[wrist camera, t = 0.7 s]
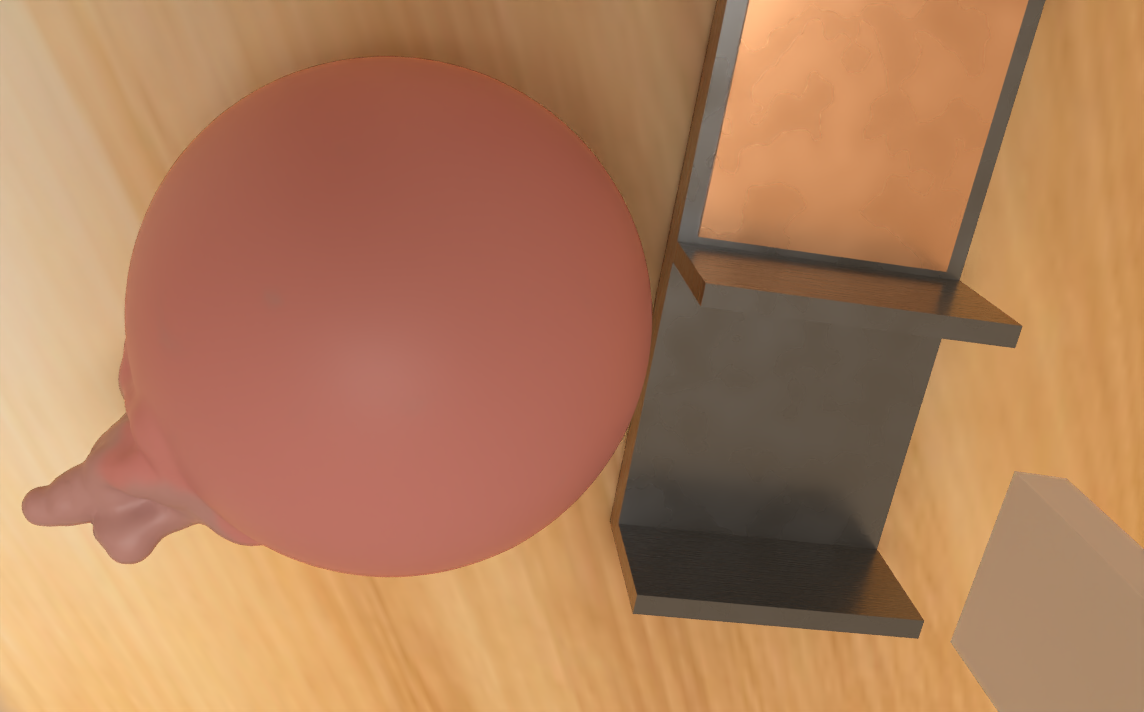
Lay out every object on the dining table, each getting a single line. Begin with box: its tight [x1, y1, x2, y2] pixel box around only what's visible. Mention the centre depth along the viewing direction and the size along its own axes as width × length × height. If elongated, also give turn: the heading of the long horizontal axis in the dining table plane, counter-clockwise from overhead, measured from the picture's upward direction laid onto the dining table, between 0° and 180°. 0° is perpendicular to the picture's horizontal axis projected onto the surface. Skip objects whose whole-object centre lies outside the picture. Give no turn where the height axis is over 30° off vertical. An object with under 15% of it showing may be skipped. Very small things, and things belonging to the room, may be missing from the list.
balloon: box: [22, 56, 652, 577], centre depth 33 cm, size 15×20×15 cm
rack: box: [610, 0, 1045, 639], centre depth 38 cm, size 25×11×8 cm, turn 170°
